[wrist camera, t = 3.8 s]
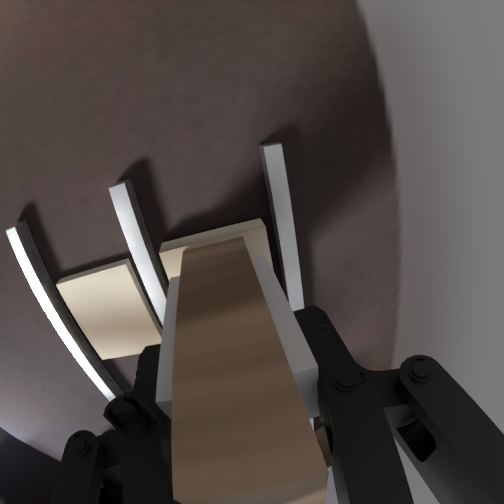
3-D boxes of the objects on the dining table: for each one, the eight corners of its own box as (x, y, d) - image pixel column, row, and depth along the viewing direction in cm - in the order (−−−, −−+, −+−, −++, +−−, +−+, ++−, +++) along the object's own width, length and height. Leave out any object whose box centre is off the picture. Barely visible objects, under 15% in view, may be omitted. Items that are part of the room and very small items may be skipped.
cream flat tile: (63, 274, 14) (55, 284, 13) (130, 253, 15) (125, 264, 13) (105, 347, 17) (102, 359, 16) (167, 335, 17) (166, 347, 16)
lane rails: (16, 223, 12) (-6, 239, 10) (274, 141, 13) (289, 146, 11) (178, 459, 24) (179, 477, 22) (311, 433, 25) (317, 451, 23)
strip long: (161, 242, 14) (116, 495, 3) (260, 218, 14) (388, 445, 4) (250, 446, 24) (273, 544, 14) (298, 434, 24) (330, 530, 14)
